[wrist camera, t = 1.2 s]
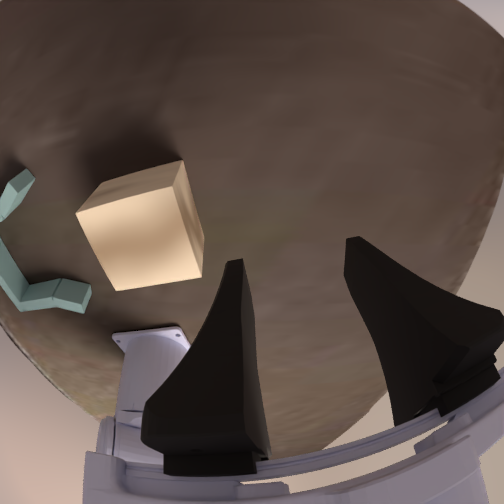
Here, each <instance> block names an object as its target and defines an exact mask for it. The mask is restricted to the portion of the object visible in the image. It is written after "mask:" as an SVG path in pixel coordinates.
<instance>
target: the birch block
mask: <svg viewBox="0 0 504 504" xmlns="http://www.w3.org/2000/svg"><path fill="white" fill-rule="evenodd" d="M76 216H77V218H78V220H79V222H80V224H81V226H82V228H83V230H84V233H85V235H86V237H87V239H88V241H89V243H90V245H91V247H92V248H93V250H94V252H95V254H96V256H97V258H98V260H99V262H100V264H101V265H102V267H103V269H104V271H105V273H106V274H107V276H108V278H109V280H110V281H111V283H112V285H113V286H114V288H115V290H116V291H119V290H126V289H132V288H138V287H145V286H151V285H157V284H163V283H169V282H175V281H181V280H187V279H193V278H199V277H202V262H203V246H204V235H203V232H202V228H201V225H200V221H199V218H198V214H197V211H196V207H195V203H194V200H193V196H192V192H191V189H190V185H189V181H188V177H187V174H186V170H185V166H184V162H183V160H180V161H176V162H172V163H168V164H164V165H160V166H156V167H153V168H149V169H145V170H142V171H138V172H135V173H131V174H128V175H124V176H121V177H118V178H115V179H111V180H108V181H105V182H102V183H101V184H100V185H99V186H98V187H97V188H96V190H95V191H94V192H93V193H92V194H91V195H90V196H89V198H88V199H87V200H86V201H85V202H84V204H83V205H82V206H81V207H80V208H79V210H78V211H77V212H76Z"/></svg>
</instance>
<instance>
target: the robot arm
mask: <svg viewBox="0 0 504 504" xmlns="http://www.w3.org/2000/svg"><path fill="white" fill-rule="evenodd" d="M344 277H345V280H346V283H347V286H348V289H349V291H350V294H351V296H352V298H353V300H354V302H355V304H356V306H357V308H358V310H359V312H360V314H361V316H362V318H363V320H364V322H365V324H366V326H367V328H368V330H369V332H370V334H371V337H372V339H373V341H374V344H375V347H376V350H377V353H378V356H379V359H380V362H381V365H382V369H383V372H384V376H385V380H386V384H387V388H388V392H389V397H390V402H391V408H392V413H393V420H394V426H395V427H393V428H391V429H388V430H386V431H383V432H380V433H378V434H375V435H372V436H369V437H366V438H363V439H360V440H357V441H354V442H351V443H347V444H344V445H340V446H336V447H333V448H329V449H325V450H321V451H316V452H312V453H307V454H303V455H298V456H292V457H287V458H281V459H274V460H269V458H270V457H271V455H272V452H271V447H270V442H269V436H268V431H267V425H266V419H265V414H264V408H263V402H262V395H261V389H260V383H259V376H258V370H257V357H256V337H255V318H254V310H253V304H252V297H251V292H250V288H249V284H248V279H247V275H246V271H245V266H244V262H243V258H242V259H237V260H232V261H228V262H227V263H226V265H225V269H224V273H223V277H222V280H221V283H220V286H219V289H218V291H217V294H216V297H215V300H214V302H213V304H212V307H211V309H210V311H209V313H208V315H207V318H206V320H205V322H204V324H203V326H202V328H201V329H200V331H199V333H198V335H197V336H196V338H195V340H194V342H193V343H192V345H190V343H189V342H188V340H187V338H186V337H185V335H184V333H183V331H182V330H181V328H180V327H177V326H175V327H167V328H159V329H150V330H141V331H132V332H122V333H114V334H113V335H112V339H113V340H114V341H115V342H116V343H117V345H118V346H119V347H120V348H121V349H122V351H123V352H124V353H125V357H124V362H123V367H122V373H121V378H120V384H119V390H118V397H117V404H116V411H115V415H114V417H111V416H106V418H104V419H102V420H101V422H100V427H99V432H98V438H97V447H96V452H90V451H87V452H86V456H85V466H84V480H83V481H84V482H83V504H489V501H488V496H487V493H486V489H485V484H484V480H483V476H482V473H481V470H480V460H479V457H480V456H481V455H482V454H484V453H485V452H486V451H487V450H488V449H490V448H491V447H492V446H493V445H494V444H495V443H496V442H497V441H499V439H501V438H502V437H503V436H504V367H503V368H501V369H500V370H499V371H497V369H496V367H495V365H494V363H495V362H496V361H497V359H496V357H495V355H494V353H495V352H496V350H497V349H498V348H499V346H500V345H501V344H502V343H503V341H504V316H503V315H502V313H501V312H500V310H497V309H494V308H490V307H486V306H483V305H480V304H477V303H474V302H471V301H469V300H466V299H463V298H461V297H458V296H456V295H454V294H452V293H450V292H447V291H445V290H443V289H441V288H439V287H437V286H435V285H433V284H431V283H430V282H428V281H426V280H424V279H422V278H421V277H419V276H417V275H416V274H414V273H413V272H411V271H409V270H408V269H406V268H405V267H403V266H402V265H400V264H399V263H397V262H396V261H394V260H393V259H391V258H390V257H389V256H387V255H386V254H384V253H383V252H382V251H380V250H379V249H377V248H376V247H375V246H373V245H372V244H370V243H369V242H367V241H366V240H365V239H363V238H361V237H360V236H357V237H352V238H347V239H346V251H345V265H344ZM448 420H449V421H448ZM446 421H448V423H447V424H446V425H445V426H443V427H442V428H440V429H438V430H436V431H434V432H433V433H432V434H431V435H429V436H428V437H426V438H425V439H423V440H422V441H420V442H418V443H417V444H415V445H414V449H415V452H416V455H414V456H411V457H409V458H407V459H405V460H402V461H400V462H398V463H395V464H393V465H390V466H388V467H385V468H383V469H380V470H377V471H375V472H372V473H369V474H366V475H363V476H360V477H357V478H354V479H351V480H347V481H344V482H340V483H337V484H333V485H329V486H325V487H321V488H317V489H312V490H307V491H302V492H297V493H292V494H290V492H289V487H288V485H287V484H284V483H283V482H271V483H258V484H245V485H244V484H242V483H240V482H246V481H256V480H265V479H273V478H280V477H286V476H292V475H297V474H303V473H307V472H312V471H317V470H321V469H325V468H329V467H333V466H337V465H340V464H344V463H347V462H351V461H354V460H357V459H360V458H363V457H366V456H369V455H372V454H375V453H378V452H381V451H383V450H386V449H388V448H391V447H393V446H396V445H398V444H401V443H403V442H405V441H408V440H410V439H412V438H414V437H416V436H418V435H421V434H422V433H425V432H427V431H429V430H431V429H433V428H435V427H437V426H439V425H440V424H442V423H444V422H446Z"/></svg>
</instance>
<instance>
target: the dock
mask: <svg viewBox="0 0 504 504" xmlns="http://www.w3.org/2000/svg"><path fill="white" fill-rule="evenodd" d="M34 180H35V177H34V176H33V175H32V174H31V173H30V172H29V171H28V169H27V168H26V169H25V170H24V171H22V172H21V173H20V174H18V175H17V176H16V177H14V178H13V179H12V180H10V181H9V182H8V184H7V186H6V188H5V190H4V192H3V194H2V196H1V198H0V222H1V221H3V220H4V219H5V218H6V217H7V216H8V215H9V214H10V213H11V212H12V211H13V210H14V209H15V208H16V207H17V206H18V205H19V204H20V203H21V202H22V200H23V199H24V197H25V195H26V193H27V192H28V190H29V188H30V187H31V185H32V183H33V182H34ZM0 285H1V287H2V288H3V289H4V291H5V292H6V294H7V295H8V296H9V298H10V299H11V300H12V302H13V303H14V304H15V306H16V307H17V308H18V309H19V311H20V312H22V311H30V310H38V309H46V308H53V307H59V308H63V309H67V310H71V311H75V312H79V313H83V314H84V312H85V310H86V307H87V304H88V302H89V299H90V297H91V294H92V292H91V285H90V284H86V283H82V282H77V281H73V280H68V279H64V278H63V279H61V278H59V279H55V280H50V281H46V282H41V283H37V284H32V285H29V283H28V282H27V280H26V279H25V277H24V276H23V274H22V273H21V271H20V270H19V268H18V267H17V265H16V263H15V262H14V260H13V258H12V257H11V255H10V253H9V252H8V250H7V248H6V247H5V245H4V243H3V241H2V239H1V238H0Z"/></svg>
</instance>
